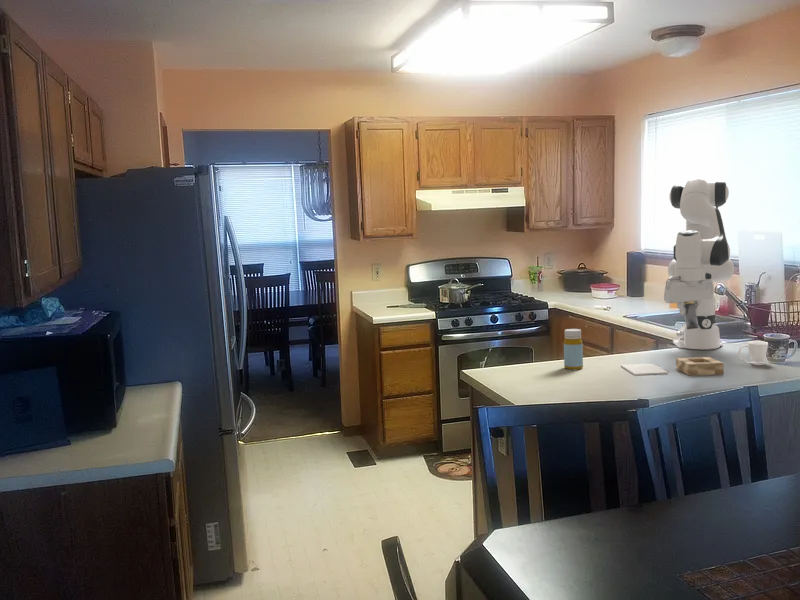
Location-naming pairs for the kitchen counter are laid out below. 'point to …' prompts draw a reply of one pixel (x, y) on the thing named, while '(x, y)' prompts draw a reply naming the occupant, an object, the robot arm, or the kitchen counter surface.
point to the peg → (690, 315)
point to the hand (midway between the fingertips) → (688, 313)
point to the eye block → (699, 366)
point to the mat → (644, 369)
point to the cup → (756, 351)
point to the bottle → (573, 349)
